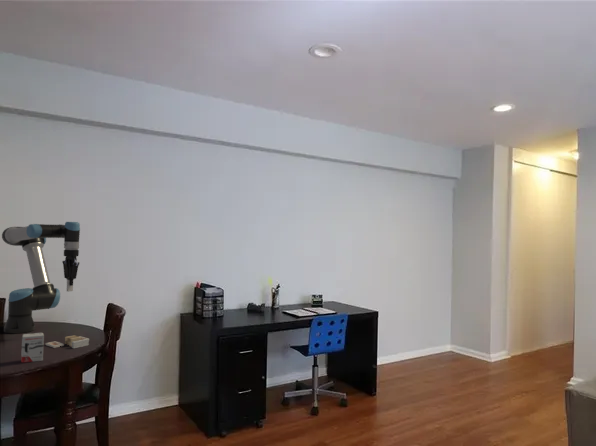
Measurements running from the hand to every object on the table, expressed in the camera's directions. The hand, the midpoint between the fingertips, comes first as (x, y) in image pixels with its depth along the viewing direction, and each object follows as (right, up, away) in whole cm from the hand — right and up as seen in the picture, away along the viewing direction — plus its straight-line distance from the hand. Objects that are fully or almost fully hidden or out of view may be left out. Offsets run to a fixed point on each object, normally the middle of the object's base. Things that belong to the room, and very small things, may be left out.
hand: (69, 291), depth 254 cm
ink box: (+7, -25, -48) cm, 54 cm away
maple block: (+11, -25, -19) cm, 34 cm away
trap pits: (+8, -25, -17) cm, 31 cm away
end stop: (+17, -25, -23) cm, 38 cm away
